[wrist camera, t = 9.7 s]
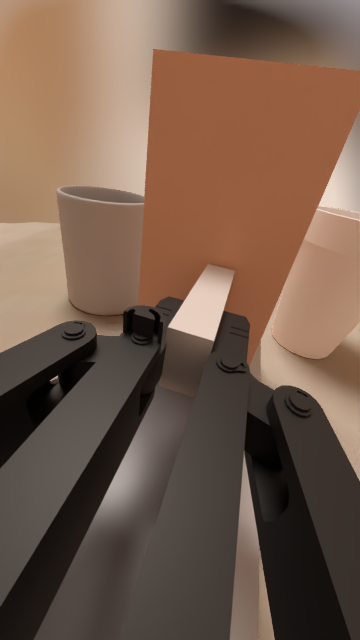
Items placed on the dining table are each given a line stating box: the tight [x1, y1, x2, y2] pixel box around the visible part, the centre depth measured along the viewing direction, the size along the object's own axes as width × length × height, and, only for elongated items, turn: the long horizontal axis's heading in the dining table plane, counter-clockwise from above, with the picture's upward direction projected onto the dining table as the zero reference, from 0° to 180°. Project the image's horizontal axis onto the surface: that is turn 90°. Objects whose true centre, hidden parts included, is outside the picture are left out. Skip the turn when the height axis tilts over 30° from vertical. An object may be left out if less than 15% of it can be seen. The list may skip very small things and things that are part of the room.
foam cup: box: [272, 205, 360, 359], centre depth 23 cm, size 10×9×13 cm
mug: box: [57, 186, 144, 316], centre depth 27 cm, size 12×8×11 cm
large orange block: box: [138, 49, 360, 365], centre depth 15 cm, size 6×8×16 cm
